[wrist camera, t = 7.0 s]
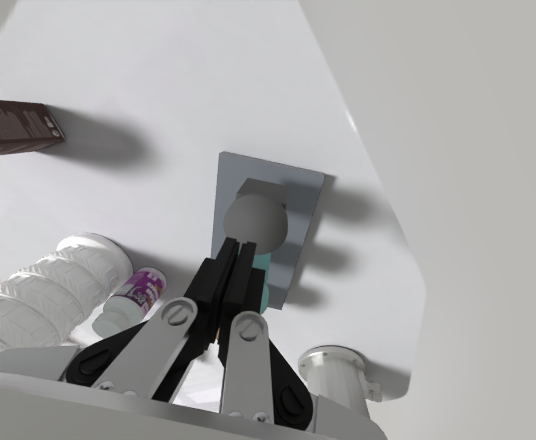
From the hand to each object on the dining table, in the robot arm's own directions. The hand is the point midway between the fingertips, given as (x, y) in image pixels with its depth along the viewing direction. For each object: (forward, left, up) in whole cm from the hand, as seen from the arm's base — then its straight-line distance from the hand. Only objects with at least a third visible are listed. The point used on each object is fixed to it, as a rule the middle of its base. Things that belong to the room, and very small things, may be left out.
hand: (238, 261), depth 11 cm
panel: (0, +8, -16) cm, 18 cm away
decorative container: (+25, +19, -16) cm, 35 cm away
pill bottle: (+16, +20, -16) cm, 30 cm away
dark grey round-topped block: (0, 0, -11) cm, 11 cm away
